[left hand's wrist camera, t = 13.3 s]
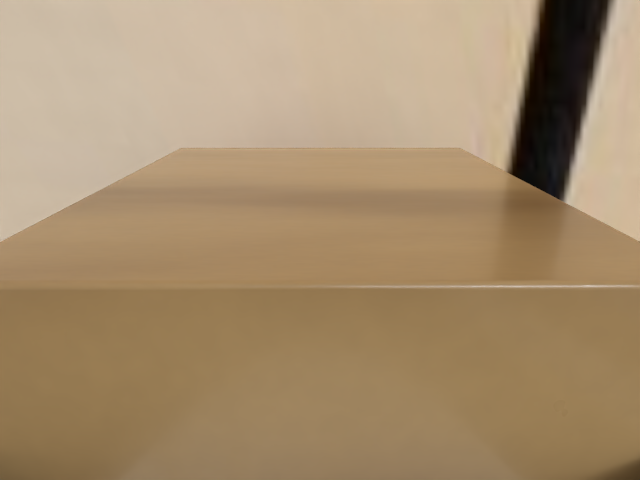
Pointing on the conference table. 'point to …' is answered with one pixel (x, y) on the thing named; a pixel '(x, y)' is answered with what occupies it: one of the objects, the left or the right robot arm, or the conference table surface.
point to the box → (320, 325)
